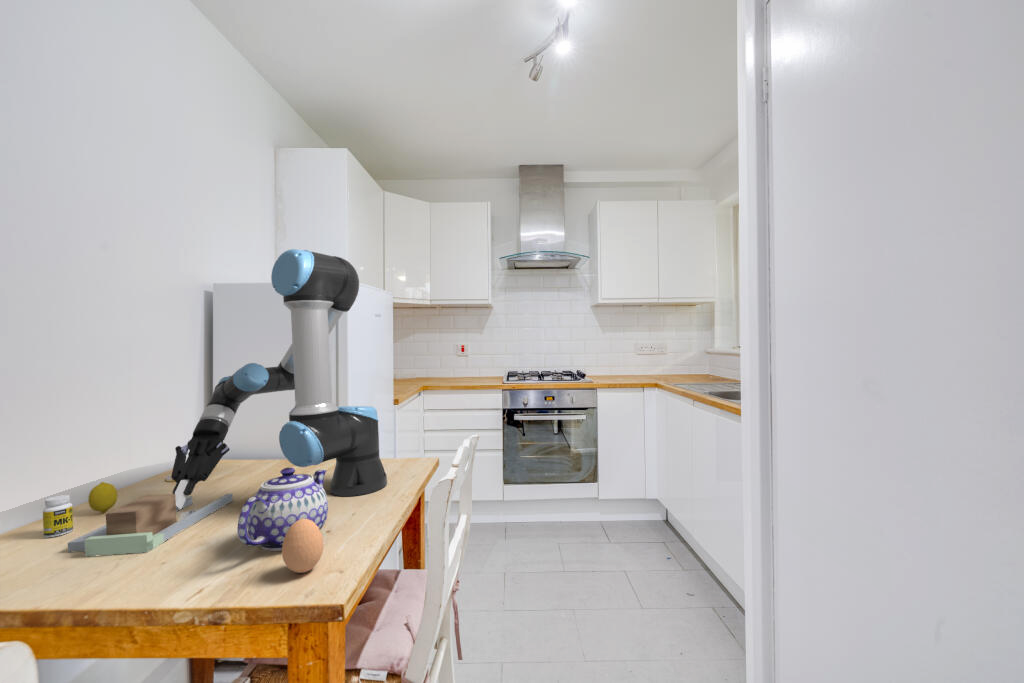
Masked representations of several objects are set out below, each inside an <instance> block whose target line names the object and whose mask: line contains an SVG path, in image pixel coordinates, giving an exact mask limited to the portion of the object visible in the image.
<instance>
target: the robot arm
mask: <svg viewBox="0 0 1024 683" xmlns="http://www.w3.org/2000/svg"><path fill="white" fill-rule="evenodd" d="M270 277H271V278H270V279H271V285H272V288H274V291H275V292H276V293H277V294H278V295H281V296H283V297H282V299H283V305H284V306H285V307H286V308H287V309H288V310H289V311H290V321H291V322H290V323H291V341H292V343H291V344H290V346H289V348H288V349H287V350H286V352H285V354H284V356H283V357H282V359H281V360H280V362H279V364H278V365H277V366H271V367H268V366H267V367H264V365H262V364H258V363H256V362H251V363H246V364H244V365H243V366H241V367H240V368H239V369H237V370H236V371H235V372H234V373H233V374H232V375H228V376H224V377H222V378H221V379H219V381H218V383H217V384H216V385H215V387H214V390H213V392H212V394H211V397H210V399H209V401H208V402H207V405H206V407H205V408H204V410H203V411H202V414H201V416H200V417H199V420H198V422H197V424H196V426H195V428H194V430H193V431H192V437H191V438H190V439H189V440H188V442H187V444H185V445H183V446H180V445H178V446H176V447H175V453H176V454H175V458H174V463H173V467H172V471H171V476H170V478H171V479H172V480H173V481H174V482H176V484H175V485H174V488H173V490H172V494H175V497H176V510H180V511H182V510H183V509H182V507H183V505H184V503H185V500H186V498H187V497H189V496H191V495H192V493H193V492H194V489H195V488H196V485H197V484H199V482H201V481H202V482H205V481H207V479H208V478H209V477H210V475H212V472H213V471H214V470H215V468H216V467H217V465H218V464H219V462H220V461H221V459H223V457H224V456H225V455H226V454H227V453H229V451H230V450H231V449H230V447H229V446H228V445H227V444H226V443H225V442H224V441H225V438H226V436H227V434H228V432H229V429H230V427H231V425H232V424H233V420H234V418H235V416H236V414H237V411H238V409H239V407H240V405H241V404H242V403H244V402H245V401H246V400H247V399H248V398H251V396H253V395H262V394H268V393H275V392H283V391H284V392H285V391H294V402H295V403H294V404H295V405H294V407H293V408H292V409H291V410H290V411H289V412H288V415H289V416H288V419H289V421H288V422H286V423H285V424H283V426H282V427H281V430H280V431H279V436H278V441H279V442H278V443H279V446H280V450H281V452H282V454H283V456H284V457H285V458H286V459H287V461H288V462H289V463H290V464H291V465H294V466H295V467H299V468H307V467H311V466H318V465H320V464H321V463H325V462H327V461H331V460H334V459H335V465H334V466H335V467H334V469H333V474H332V478H331V481H330V485H329V486H330V493H331V494H332V495H334V496H338V497H353V496H362V495H366V494H371V493H375V492H377V491H379V490H381V489H384V488H385V487H386V486H387V485H388V476H387V473H386V470H385V469H384V466H383V463H382V460H381V457H380V439H379V437H380V436H379V434H380V433H379V419H378V418H379V417H378V411H377V409H376V408H375V407H374V406H366V405H365V406H363V405H362V406H357V405H356V406H354V405H351V406H344V405H343V406H338V405H336V404H335V403H334V402H333V395H332V394H333V393H332V392H333V391H332V373H331V370H332V369H331V353H330V352H331V351H330V334H331V332H332V331H333V329H334V327H335V326H336V324H337V323H338V322H339V320H340V318H341V317H342V316H343V314H344V313H347V312H349V311H350V310H351V308H352V306H353V305H354V304H355V302H356V300H357V298H358V295H359V289H360V279H359V278H360V277H359V275H358V272H357V269H356V268H355V267H354V265H352V264H351V263H350V261H348V260H346V259H344V258H343V257H340V256H336V255H335V256H333V255H329V254H325V253H320V252H315V251H311V250H308V249H295V248H294V249H293V248H291V249H287V250H285V251H284V252H282V253H281V254H279V256H278V258H277V259H276V260H275V262H274V264H273V267H272V269H271V276H270ZM187 455H188V457H187ZM181 509H182V510H181Z"/></svg>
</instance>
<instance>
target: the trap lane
mask: <svg viewBox="0 0 1024 683" xmlns="http://www.w3.org/2000/svg"><path fill="white" fill-rule="evenodd" d="M232 500H233V493H226V494H224V495H223V496H221V497H219V498H217V499H215V500H213V501H212V502H210V503H208V504H206V505H204V506H203V507H201V508H199V509H198V510H196V511H194V512H192V513H190V514H189V515H187V516H185V517H183V518H182V519H180V520H178V521H177V522H176V523H174V524H172V525H171V526H169V527H167V528H165V529H164V530H162V531H160V532H158V533H156V534H155V535H152V532H146V533H132V534H118V535H107V532H106V524H105V525H103V526H100V527H98V528H97V529H94V530H91V531H90V532H88V533H85V534H84V535H81V536H79V537H77V538H74V539H72V540H71V541H68V542H67V552H68V553H71V552H70V551H81V552H84V557H85V556H94V557H97V556H96V555H107V556H114V555H113V554H121V555H127V554H126V553H134V554H144V553H143V552H147V553H149V552H151V551H152V550H154V549H156V548H157V547H159V546H160V545H159V544H161V543H162V542H164V541H165V540H167V539H169V538H170V537H172V536H173V535H175V534H176V533H178V532H180V531H181V530H183V529H185V528H187V527H188V526H190V525H192V524H194V523H195V522H197V521H199V520H200V519H202V518H204V517H205V516H207V515H208V514H210V513H212V512H214V511H215V510H217V509H219V508H220V509H222V508H223V507H222V506H224V505H225V506H227V505H228V504H227V503H229V502H230V503H231V501H232ZM233 501H234V500H233ZM233 501H232V502H233ZM230 503H229V504H230ZM190 504H191V505H193V496H191V495H188V496H187V498H186V500H185V503H184V505H183V507H182V508H183V509H185V508H187V507H189V506H191V505H190ZM226 504H227V505H226ZM188 505H189V506H188ZM186 506H187V507H186ZM225 506H224V507H225ZM184 507H185V508H184ZM221 507H222V508H221ZM220 509H219V510H220ZM177 511H178V510H176V513H177ZM217 511H218V510H217ZM178 512H179V511H178ZM215 512H216V511H215ZM215 512H214V513H215ZM212 514H213V513H212ZM210 515H211V514H210ZM207 517H208V516H207ZM205 518H206V517H205ZM205 518H204V519H205ZM202 520H203V519H202ZM200 521H201V520H200ZM200 521H199V522H200ZM197 523H198V522H197ZM195 524H196V523H195ZM195 524H194V525H195ZM192 526H193V525H192ZM190 527H191V526H190ZM187 529H188V528H187ZM172 538H173V537H172ZM169 540H170V539H169ZM167 541H168V540H167ZM164 543H165V542H164ZM162 544H163V543H162ZM162 544H161V545H162ZM158 545H159V546H158ZM156 546H157V547H156ZM155 547H156V548H155ZM153 548H154V549H153ZM150 550H151V551H150ZM148 551H149V552H148Z"/></svg>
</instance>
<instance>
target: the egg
mask: <svg viewBox="0 0 1024 683" xmlns="http://www.w3.org/2000/svg"><path fill="white" fill-rule="evenodd" d="M324 546H325V545H324V537H323V533H322V531H321V529H319V527H318V526H317V525H316V524H315V523H314V522H313V521H311V520H309V519H300V520H298V521H296V522H295V523H294V524H292V525H291V527H290V528H289V530H288V531H287V533H286V535H285V538H284V541H283V546H282V550H281V552H282V560H283V562H284V564H285V565H286V567H287V568H288V569H289V570H291V571H292V572H294V573H297V574H304V573H307V572H309V571H311V570H312V569H313V568H314V567H316V566H317V564H318V563H319V561H320V560H321V557H322V556H323V552H324Z"/></svg>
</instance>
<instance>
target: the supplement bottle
mask: <svg viewBox="0 0 1024 683" xmlns="http://www.w3.org/2000/svg"><path fill="white" fill-rule="evenodd" d="M44 505H45V508H43V510H42V523H43V524H42V527H43V529H42V530H43V531H42V532H43V537H44V538H45V539H49V537H52V538H56V537H55V536H58V537H60V536H59V535H62V536H64V535H63V534H65V535H67V534H69V532H70V533H72V532H73V531H72V530H74V514H73V513H74V510H73V504H72V503H71V495H70V494H61V495H55V496H51V497H49V498H46V499H44ZM66 533H67V534H66Z"/></svg>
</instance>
